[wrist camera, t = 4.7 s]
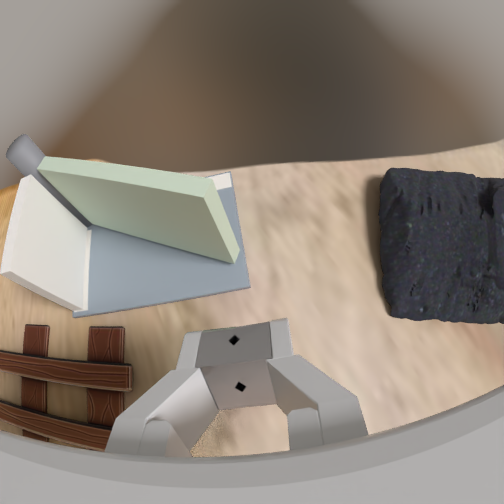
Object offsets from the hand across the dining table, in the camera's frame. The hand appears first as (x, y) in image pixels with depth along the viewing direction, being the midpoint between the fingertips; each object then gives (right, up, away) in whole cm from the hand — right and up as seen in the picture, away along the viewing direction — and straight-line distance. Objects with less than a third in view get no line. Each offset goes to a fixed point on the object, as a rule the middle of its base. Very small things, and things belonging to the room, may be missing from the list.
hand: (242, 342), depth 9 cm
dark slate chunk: (+21, +3, +14) cm, 26 cm away
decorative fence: (-20, -12, +14) cm, 27 cm away
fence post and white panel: (-15, +2, +18) cm, 24 cm away
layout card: (-8, +3, +18) cm, 20 cm away
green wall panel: (-8, +4, +17) cm, 19 cm away
